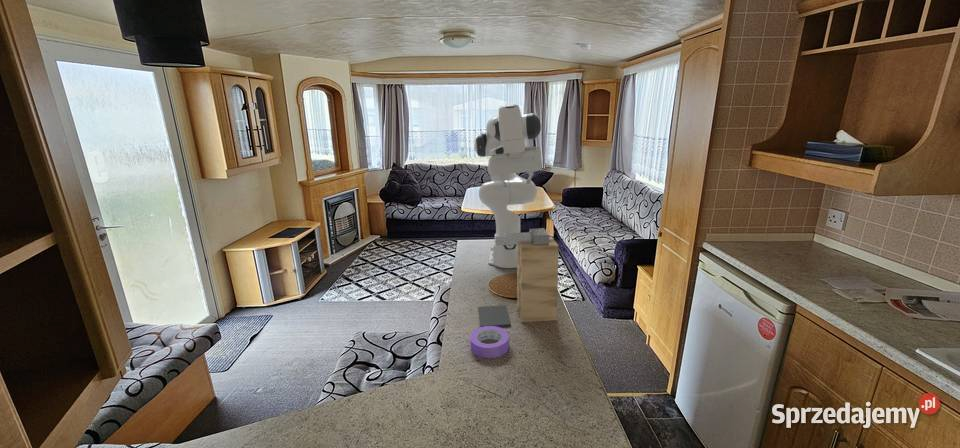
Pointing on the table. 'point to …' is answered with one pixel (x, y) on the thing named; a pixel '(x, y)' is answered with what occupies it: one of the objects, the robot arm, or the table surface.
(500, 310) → the mat
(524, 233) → the bar
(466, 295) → the table surface
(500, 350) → the masking tape
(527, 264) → the oak post
